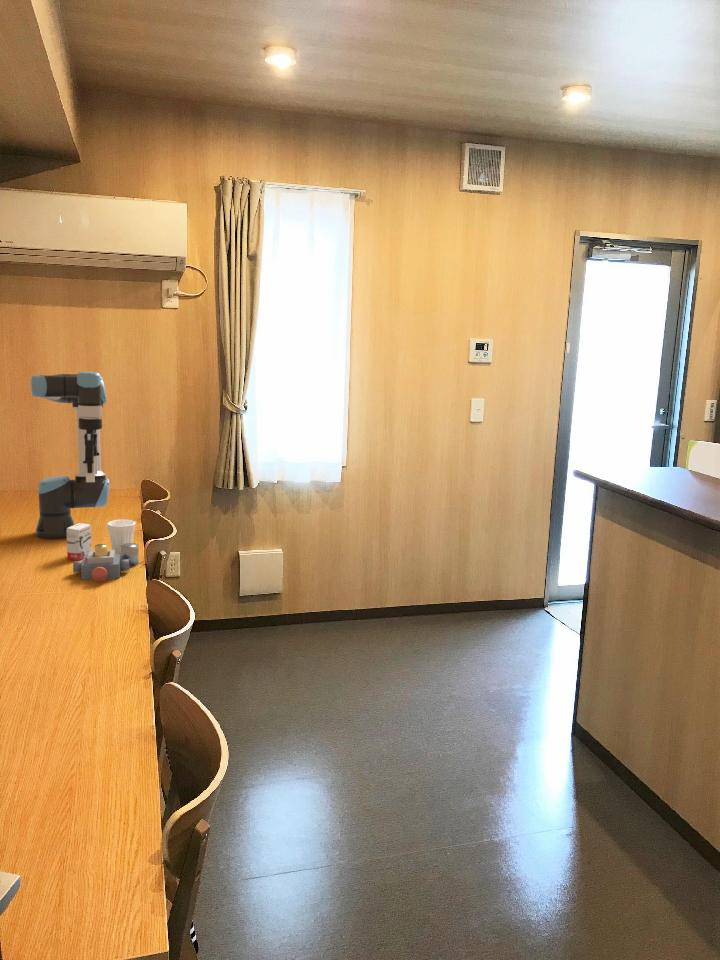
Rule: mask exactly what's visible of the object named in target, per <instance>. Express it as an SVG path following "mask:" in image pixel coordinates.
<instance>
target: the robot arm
mask: <svg viewBox="0 0 720 960" xmlns="http://www.w3.org/2000/svg"><path fill="white" fill-rule="evenodd" d="M30 386H31V387H30V389H31V395H32V397H35V398H43V399H44V400H47V401H51V402H53V403H59V404H72V405H71V406H72V409H73V410H74V411H75V412H76V423H77V424H76V426H77V427H76V428H77V453H78V455H77V456H78V458H77V459H78V471H77V473H76V474H75V475H74V478H75V479H71V478H70V477H69V476H68V475H57V476H56V475H55V476H51V477H47V478H44V479H41V480H40V481H39V483H38V492H37V494H38V505H39V506H38V507H39V509H38V511H39V517H38V521H37V524H36V527H35V536H36V537H37V538H40V539H45V540H47V539H49V540H51V539H53V540H54V539H63V538H67V528H68V527H71V526H73V525H75V524H76V523H75V521H74V519H73V516H72V511H71V510H72V509H82V508H83V509H84V508H85V509H86V508H94V509H95V508H101V507H102V508H103V507H105V506H107V503H108V499H109V492H110V478H107V477H106V473H105V472H104V471H102V454H101V452H102V450H101V430H102V429H103V419H102V418H101V417H102V415H103V408H104V404H107V394H106V387H105V382H104V379H103V377H102V376H101V374H100V373H99V372H96V371H79V372H78V373H77V374H76V373H70V374H69V373H59V374H52V375H45V374H39V375H32V376H31V377H30Z"/></svg>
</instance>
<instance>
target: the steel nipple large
mask: <svg viewBox="0 0 720 960" xmlns="http://www.w3.org/2000/svg"><path fill="white" fill-rule="evenodd" d="M139 555H140V553H139V544H138V543H134V542H133V543H126V544H122V545H121V560H124V559H129V568H130V567H131V566H132V567H137V566H139V564H140V562H139V561H140V560H139V559H140V557H139ZM136 565H137V566H136ZM132 567H131V568H132Z"/></svg>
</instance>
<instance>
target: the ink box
mask: <svg viewBox="0 0 720 960" xmlns="http://www.w3.org/2000/svg"><path fill="white" fill-rule="evenodd" d="M74 524H75V525H73V526H71V527H68V528H67V537H66V550H67V551H66V552H67V553H66V554H67V555H66V556H67V560H72V561H81V560H83V558H84V555H88V554H89V551H93V550H92V525H91V524H87V523H82V522H78V523H74Z"/></svg>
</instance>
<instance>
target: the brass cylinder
mask: <svg viewBox="0 0 720 960" xmlns="http://www.w3.org/2000/svg"><path fill="white" fill-rule="evenodd" d="M107 550H108V544H106V543H105V544H104V543H97V544H95V545H94V551H95V557H102V556H107Z"/></svg>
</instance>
